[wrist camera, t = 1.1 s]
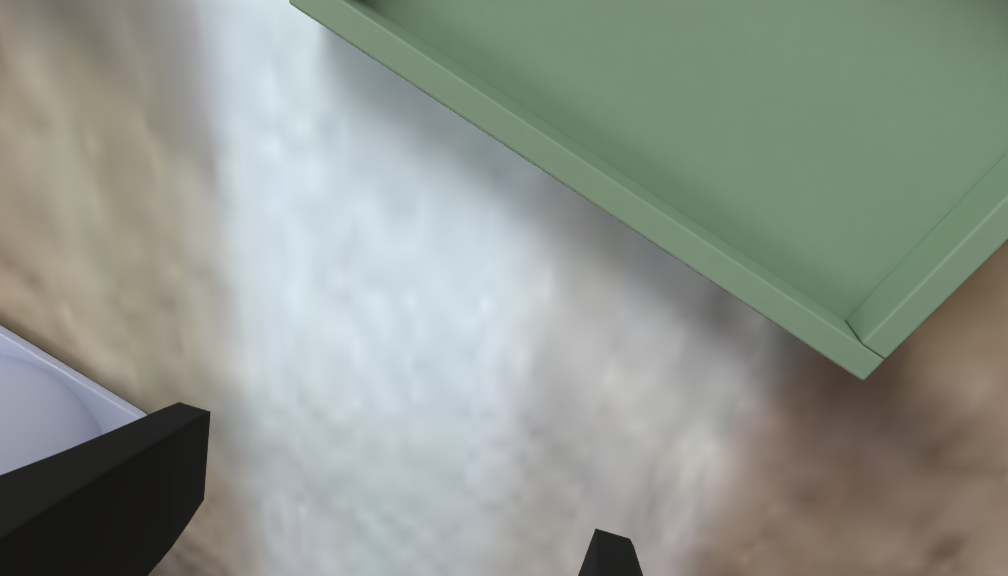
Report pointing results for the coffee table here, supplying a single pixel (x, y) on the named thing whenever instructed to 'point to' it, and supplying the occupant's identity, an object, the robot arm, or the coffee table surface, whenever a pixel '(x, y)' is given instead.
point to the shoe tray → (745, 136)
